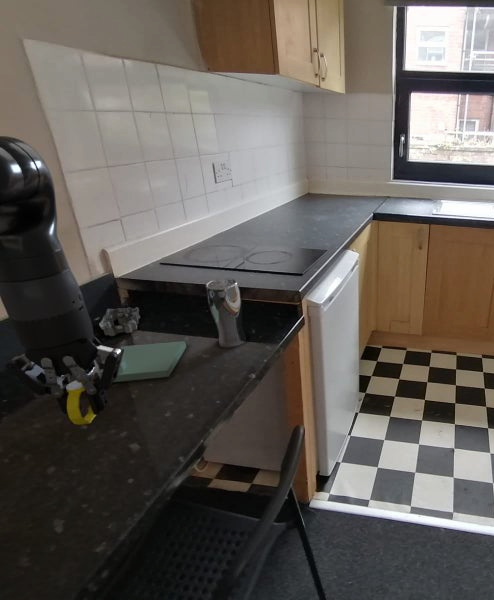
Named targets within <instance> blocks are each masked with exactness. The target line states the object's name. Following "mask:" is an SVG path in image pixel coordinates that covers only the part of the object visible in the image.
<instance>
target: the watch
mask: <svg viewBox="0 0 494 600" xmlns="http://www.w3.org/2000/svg"><path fill="white" fill-rule="evenodd" d="M66 390H67V392H68V393H69V395H68V398H67V412H68V415H69V417H68V418H69V420H70V421H71V422H72V423H73V424H74V425H76V426H83V425H89V424H92V422H93V420H94V419H95V418H96V416H97V415H94V414H93V411H92V409H91V406H90V405H89V406H88V412H87V413H86V414H85V416H84V417H83V416H82V413H81V410H80V409H79V402H80V398H81V395H82V392H86V390H85V388H84V387H83V385H82V383H78V382H77V380H76V379H75V380H73V381H71V383H69V384H68V385H67V386H66Z"/></svg>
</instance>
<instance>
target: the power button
mask: <svg viewBox="0 0 494 600" xmlns="http://www.w3.org/2000/svg"><path fill="white" fill-rule="evenodd" d="M95 360H96V362H97V364H98V366H99V369H104V365H105V364H102V363H101V362H102V361H101V357H100V356H99V357H98V358H97V359H95Z"/></svg>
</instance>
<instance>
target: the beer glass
mask: <svg viewBox="0 0 494 600" xmlns="http://www.w3.org/2000/svg"><path fill="white" fill-rule="evenodd" d="M205 292H206V301H207V305H208V309H209V312H210V314H211V317H212V319H213V322H214V324H215V326H216V329H217V332H218V333H217V334H218V345H219V346H220V347H222V348H234V347H238V346H241V345H243V344H244V343H245V342H246V341H247V337H246V333H245V332H244V329H243V303H242V297H241V291H240V288H239V285H238V280H236V279H234V278H229V277H227V278H226V277H225V278H217V279H213V280H210V281H209V282H207V283H206V284H205Z"/></svg>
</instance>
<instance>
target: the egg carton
mask: <svg viewBox="0 0 494 600" xmlns="http://www.w3.org/2000/svg"><path fill="white" fill-rule="evenodd" d="M140 319H141V316H140V309H139V307H137V306H136V307H135V308H131V307H130V306H128V307H121V308H120V307H117V308H107V309H106V312H105V314H104V315H103V317H102V319H101V321H100V322H99V324H98V325H99V327H100V328H101V330H103V333H104V335H105V336H110V337H114V336H116V335H117V334H121V333H125V334H130V333H132V332H133V331H136V330H138V325H139V320H140ZM116 320H117V322H118V325H115V321H116Z"/></svg>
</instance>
